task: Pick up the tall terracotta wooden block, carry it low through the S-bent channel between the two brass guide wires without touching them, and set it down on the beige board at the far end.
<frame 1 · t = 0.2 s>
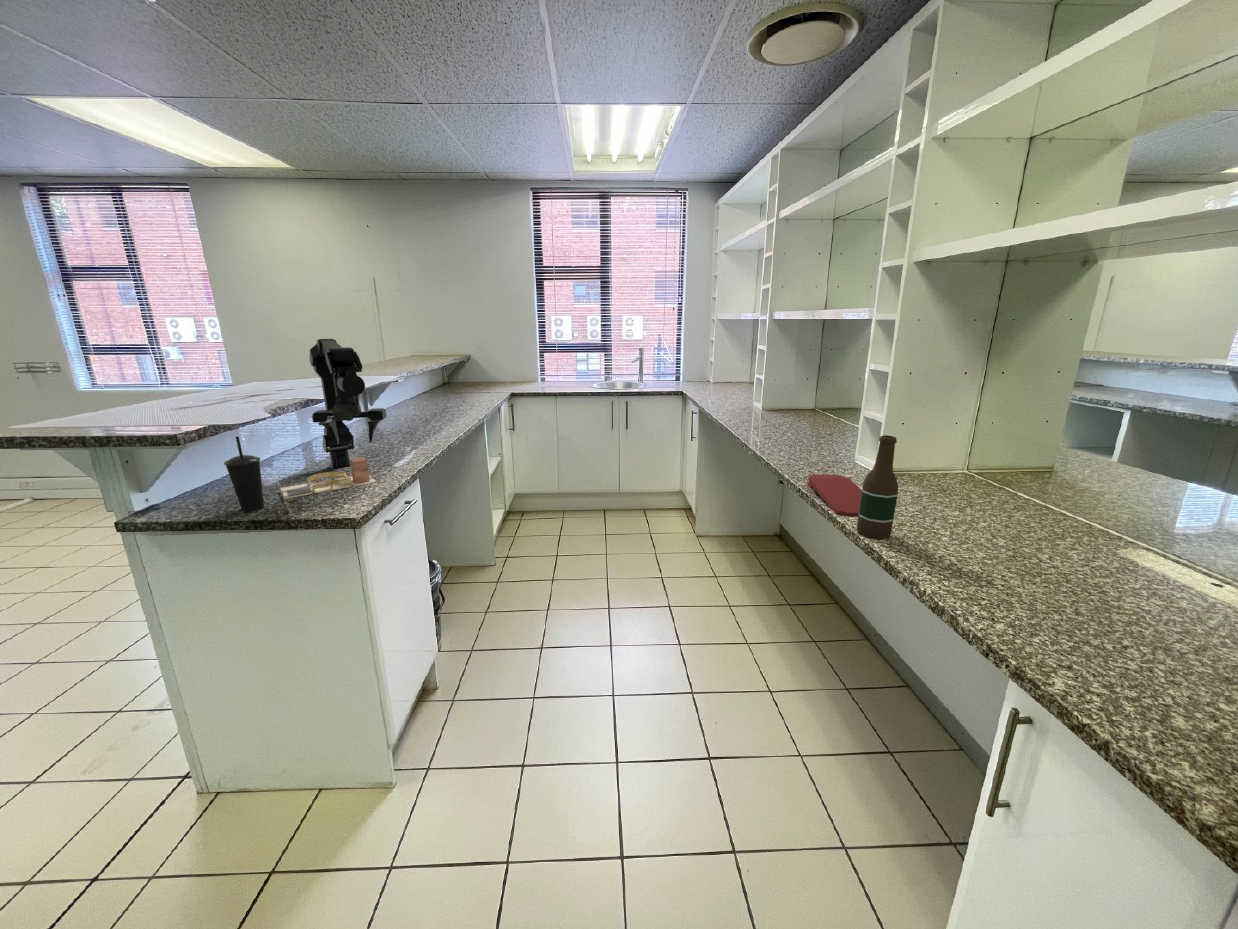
hand: (354, 443, 145), 14 cm above the counter, tool pointing down, fingers open, 9 cm apart
drinking cup: (253, 509, 130), on the counter
beer bottle: (872, 534, 116), on the counter
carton: (838, 501, 139), on the counter
beige board: (330, 488, 147), on the counter
bent wire: (330, 488, 147), resting on beige board
block: (361, 480, 151), point 1 cm above the counter, touching beige board
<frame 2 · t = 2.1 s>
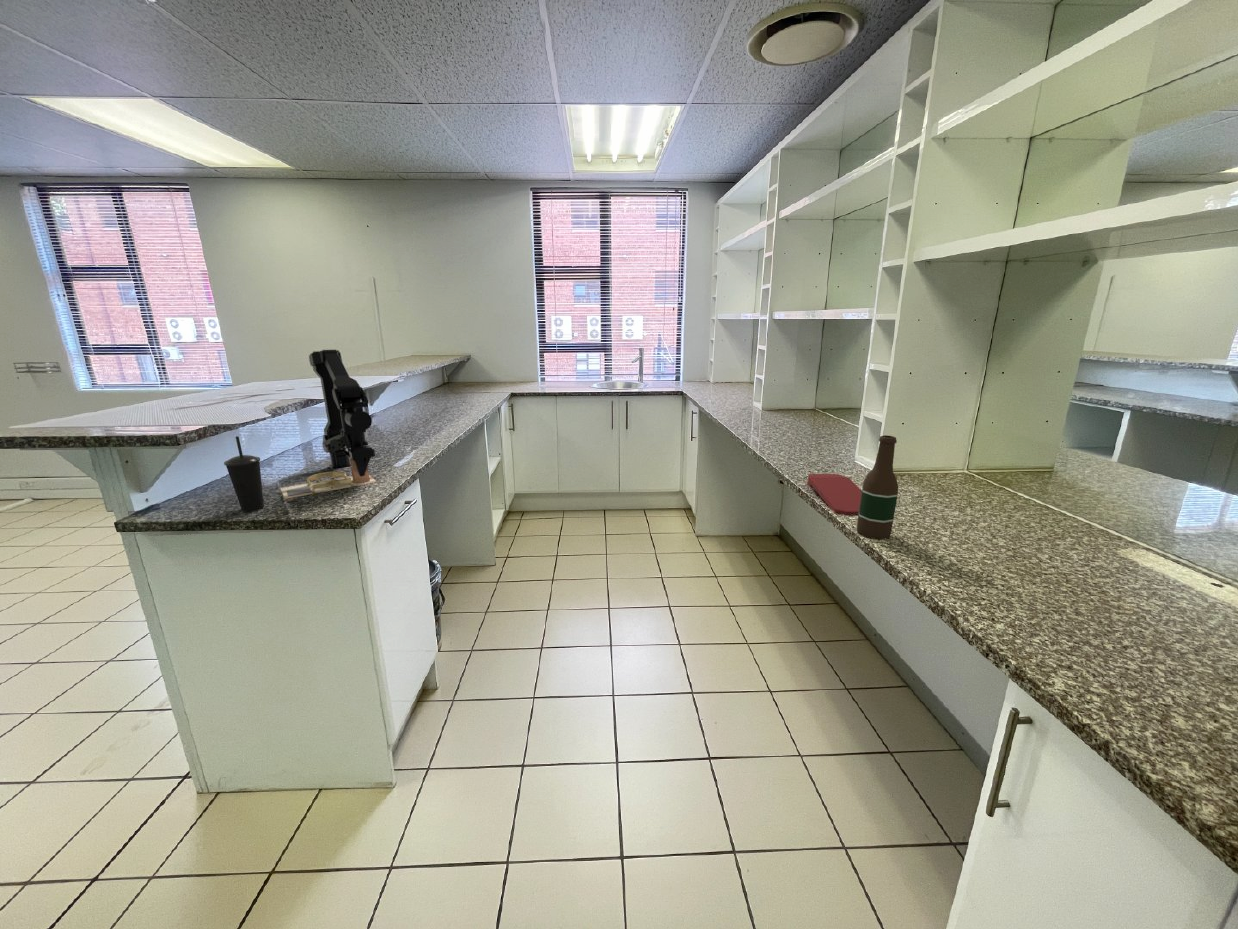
hand: (360, 474, 150), 3 cm above the counter, tool pointing down, fingers closed on block, 4 cm apart
block: (361, 480, 151), point 1 cm above the counter, touching beige board, gripper
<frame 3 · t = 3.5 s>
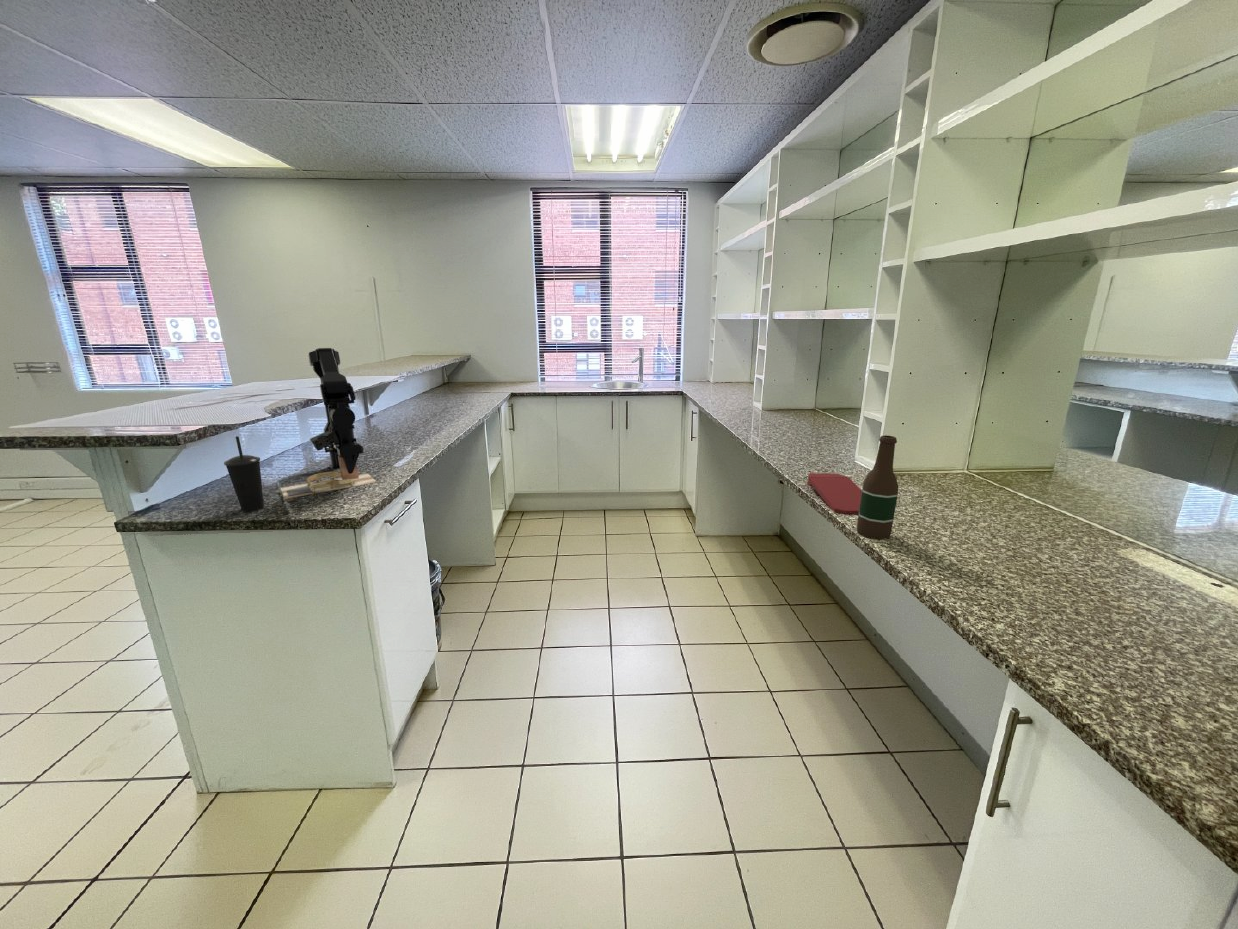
hand: (349, 471, 148), 4 cm above the counter, tool pointing down, fingers closed on block, 4 cm apart
block: (350, 478, 148), point 2 cm above the counter, touching gripper
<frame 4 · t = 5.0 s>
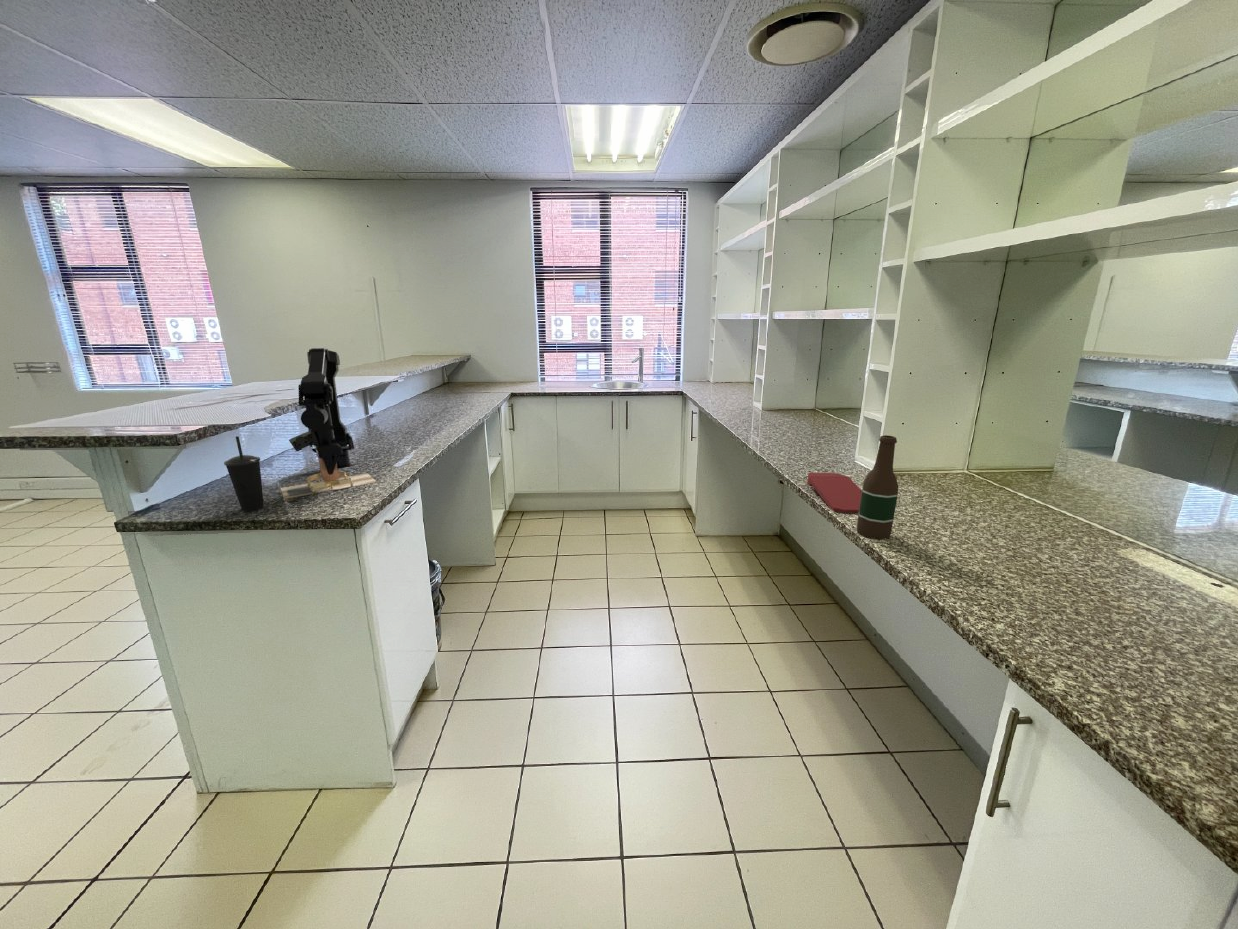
hand: (329, 472, 147), 4 cm above the counter, tool pointing down, fingers closed on block, 4 cm apart
block: (330, 478, 148), point 2 cm above the counter, touching gripper
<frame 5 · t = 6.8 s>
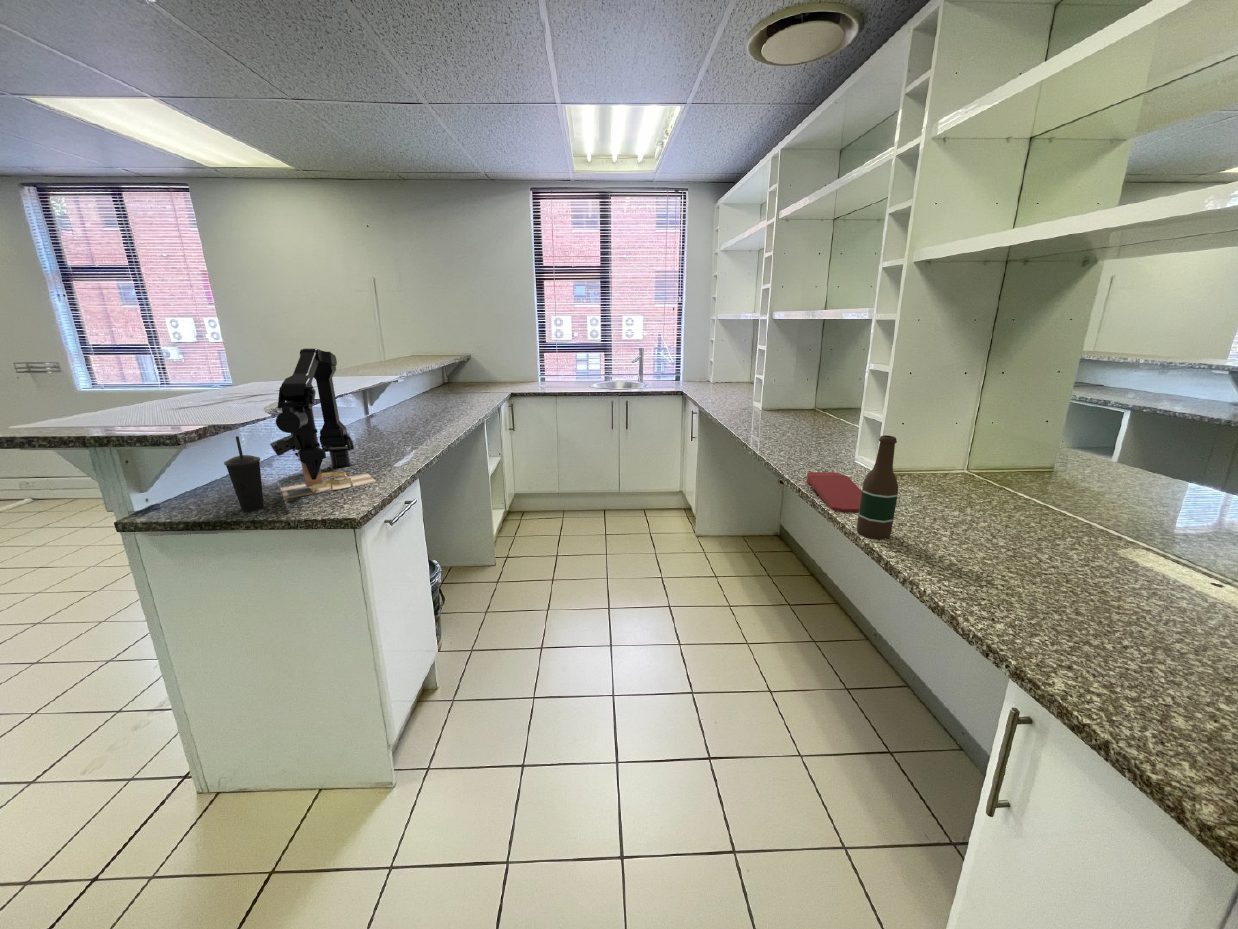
hand: (312, 477, 142), 5 cm above the counter, tool pointing down, fingers closed on block, 4 cm apart
block: (314, 484, 142), point 3 cm above the counter, touching gripper
when the fingers open (4 cm above the counter, at t = 8.2 s): block stays where it is, resting on beige board.
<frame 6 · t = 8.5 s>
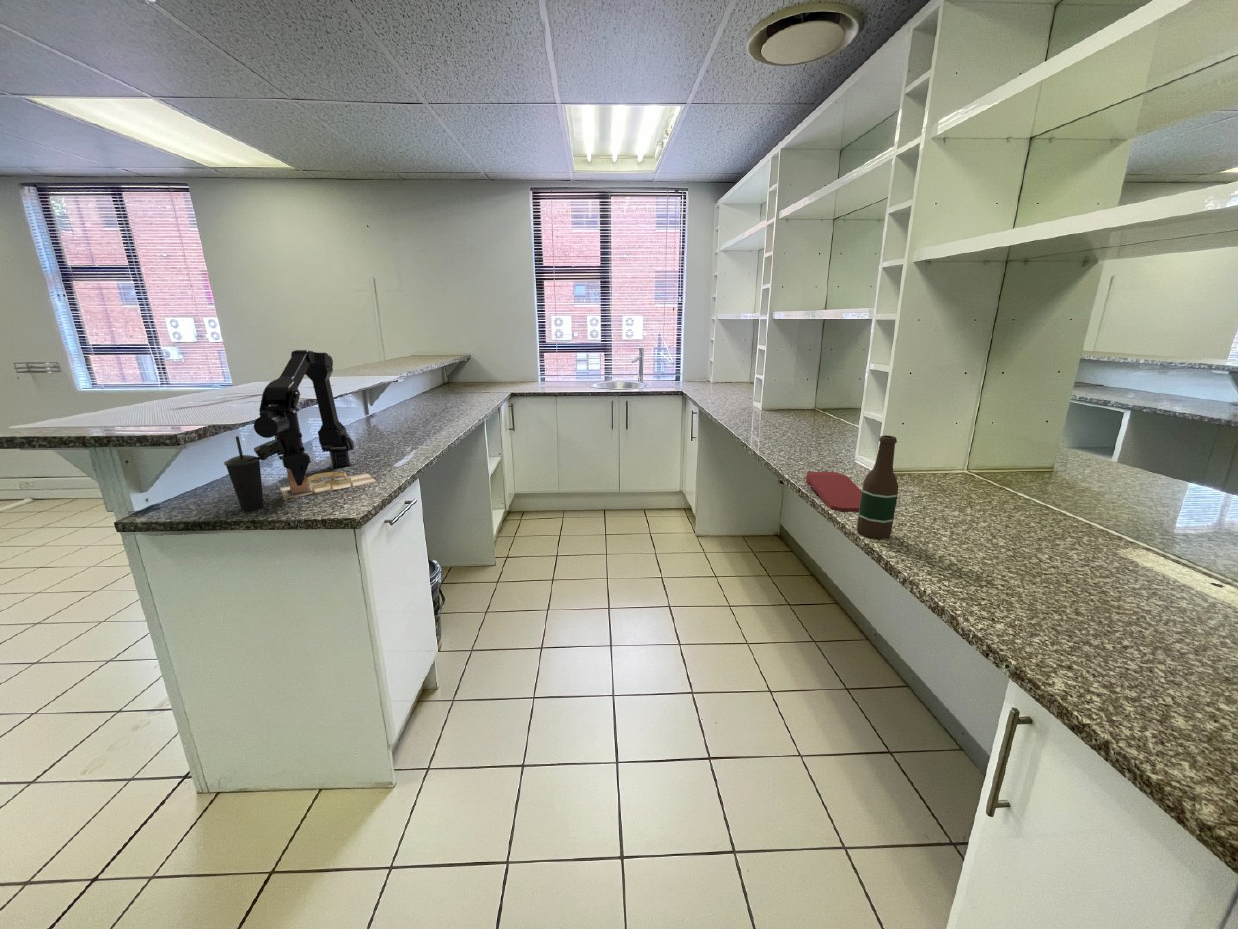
hand: (297, 482, 140), 4 cm above the counter, tool pointing down, fingers open, 7 cm apart
block: (299, 490, 140), point 1 cm above the counter, touching beige board
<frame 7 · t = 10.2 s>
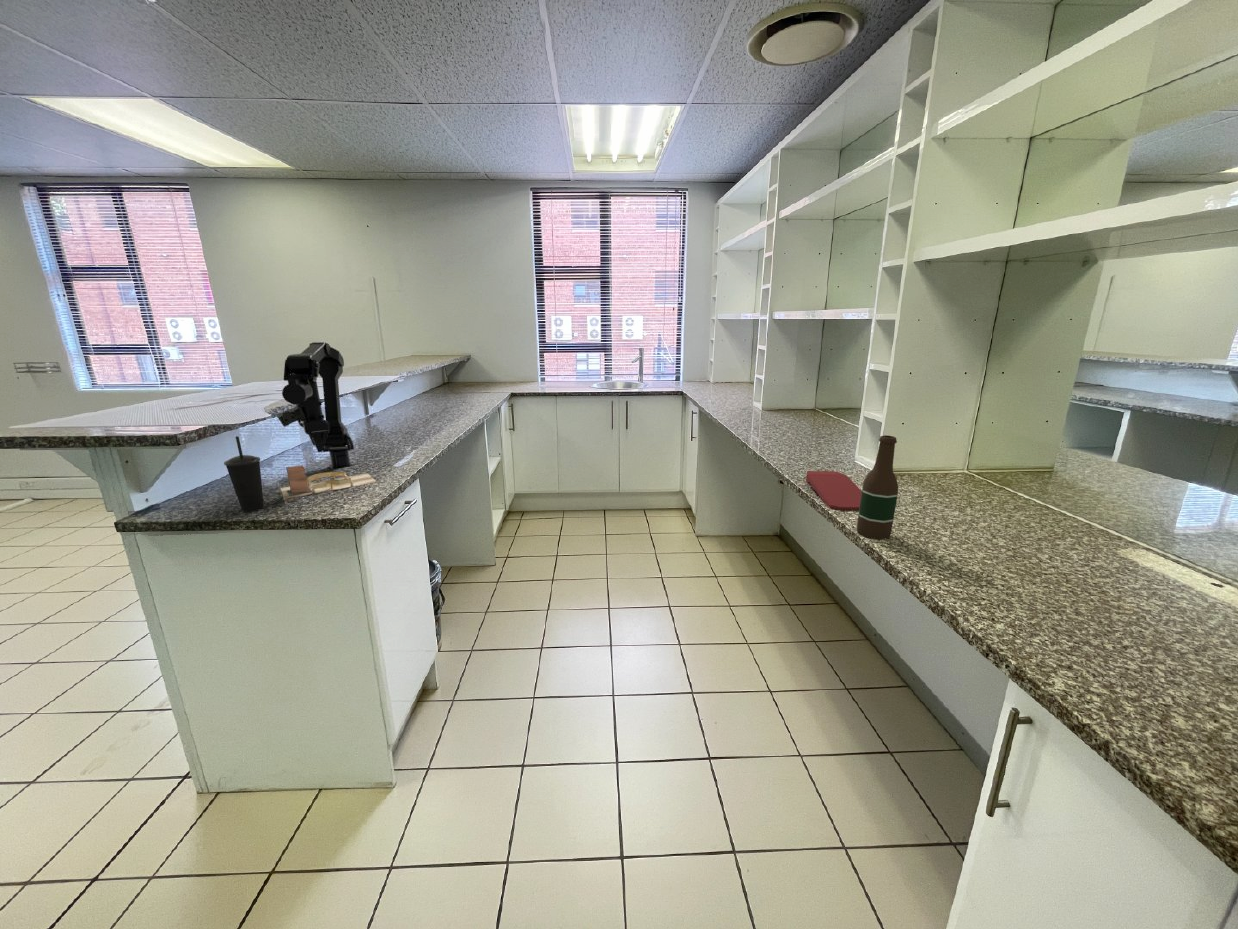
hand: (317, 448, 147), 11 cm above the counter, tool pointing down, fingers open, 9 cm apart
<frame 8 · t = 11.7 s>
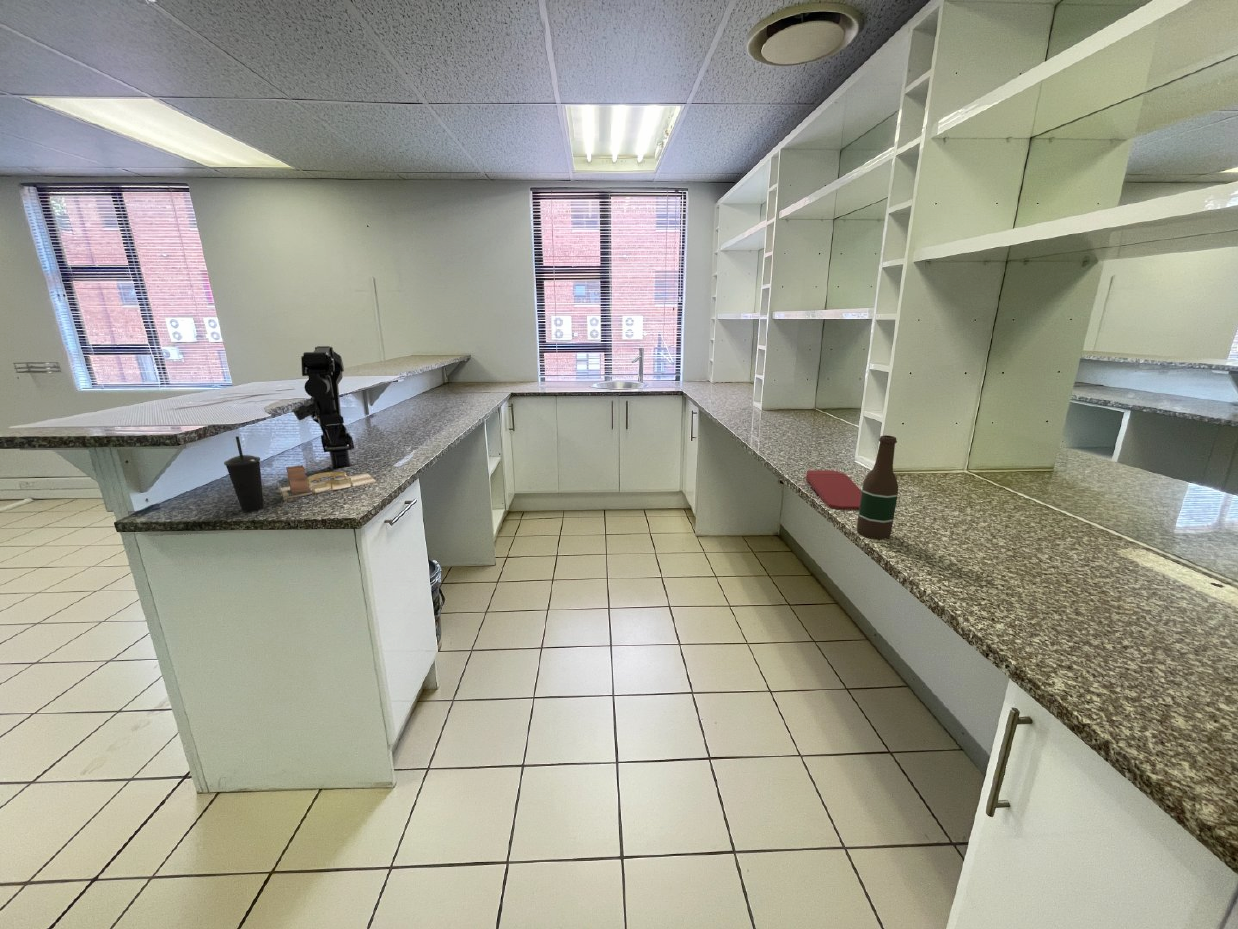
hand: (330, 442, 153), 12 cm above the counter, tool pointing down, fingers open, 9 cm apart
at the end: block 0.0 cm from the target spot, point 1.3 cm above the counter; block tilted 0°; block touching beige board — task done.
